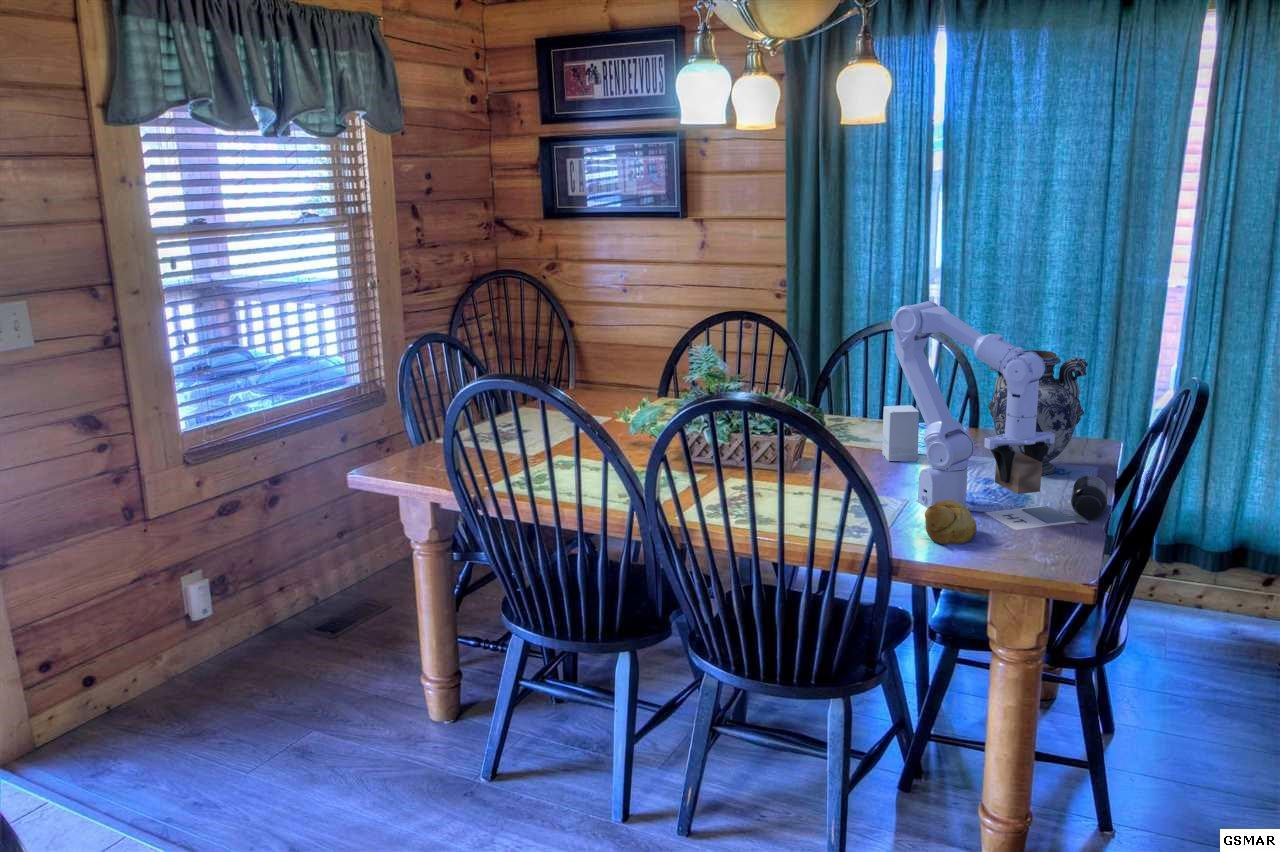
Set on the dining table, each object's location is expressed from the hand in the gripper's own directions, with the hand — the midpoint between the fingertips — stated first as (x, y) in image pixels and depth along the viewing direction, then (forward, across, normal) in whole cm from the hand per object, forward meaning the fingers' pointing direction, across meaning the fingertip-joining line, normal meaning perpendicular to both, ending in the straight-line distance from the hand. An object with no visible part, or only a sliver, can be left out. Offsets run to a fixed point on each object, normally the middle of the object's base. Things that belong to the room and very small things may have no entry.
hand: (1017, 480), depth 207 cm
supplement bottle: (+6, +21, +4) cm, 22 cm away
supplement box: (+9, 0, +50) cm, 51 cm away
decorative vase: (+9, +24, +31) cm, 41 cm away
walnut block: (+1, 0, 0) cm, 1 cm away
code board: (+9, +4, 0) cm, 10 cm away
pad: (+8, +8, 0) cm, 11 cm away
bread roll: (+9, -17, -4) cm, 19 cm away
